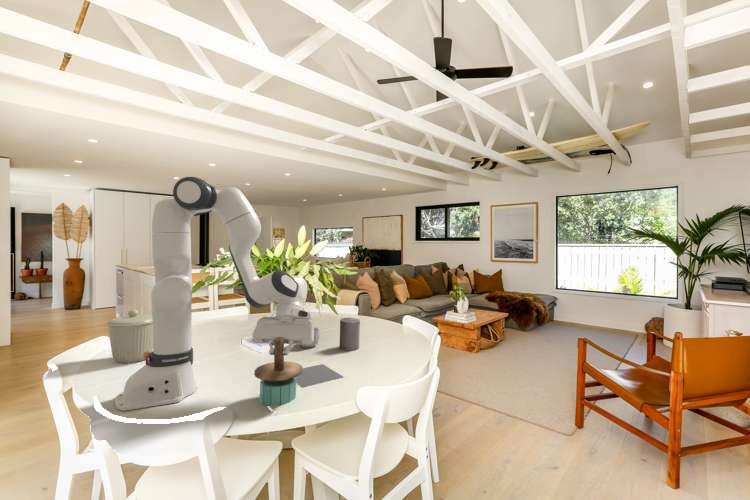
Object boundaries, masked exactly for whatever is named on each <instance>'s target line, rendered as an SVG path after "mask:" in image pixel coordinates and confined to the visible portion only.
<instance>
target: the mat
mask: <svg viewBox="0 0 750 500" xmlns="http://www.w3.org/2000/svg"><path fill="white" fill-rule="evenodd" d="M343 378H344V376H343V375H342V374H340V373H339V372H336V371H335V370H333V369H331V368H330V367H328V366H326V365H325V364H323V363H322V364H317V365H312V366H309V367H308V366H307V367H303V371H302V373H301V374H300V375H298V376H296V385H298V387H299V386H300V388H303V389H304V388H307V387H310V386H311V387H312V386H314V385H315V386H316V385H318V384H322V383H327V382H331V381H335V380H339V379H343Z"/></svg>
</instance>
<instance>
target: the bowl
mask: <svg viewBox="0 0 750 500" xmlns="http://www.w3.org/2000/svg"><path fill="white" fill-rule="evenodd" d="M259 385H260V386H259V402H260V403H261V404H262V405H263V406H268V407H270V406H280V405H284V404H288V403H290V402H292V401H294V400H295V399H296V398H297V383H296V377H294V378H291V379H287V380H281V381H266V380H261V379H260V381H259Z"/></svg>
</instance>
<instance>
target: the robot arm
mask: <svg viewBox="0 0 750 500" xmlns="http://www.w3.org/2000/svg"><path fill="white" fill-rule="evenodd" d="M172 195H173V198H166V199H165V198H164V199H162V200H159V201H158V202H156V204H155V205H154V209H153V213H152V222H151V246H152V247H151V248H152V251H151V252H152V261H153V271H154V282H155V283H154V286H153V287H152V290H151V293H150V294H151V295H150V300H151V303H150V304H151V315H152V319H153V351H152V352H151V353H149V352H148V351H147V352H145V353H144V355H143V357H144V358H145V365H144V366H142V367H141V368H140V369H138V370H137V371H136V372H134V373H133V374H132V375H131V376H129V377H128V378H127V380H126V382H125V385H124V388H123V391H121V392H120V393H119V394H117V396H116V397H115V400H114V406H115V408H116V409H117V410H119V411H124V412H125V411H130V410H138V409H143V408H150V407H156V406H163V405H169V404H174V403H175V404H177V403H179V402H180V401H182V400H183V399H185V398H186V397H188V396H190V395H192V394H193V393H195V391H196V390H197V387H198V386H197V385H196V381H195V377H194V371H193V364H194V363H193V362H194V348H193V345H192V344H193V343H192V335H193V334H192V332H193V331H192V330H193V329H192V328H193V326H192V325H193V324H192V322H193V321H192V317H193V316H192V293H193V269H192V267H193V266H192V264H193V263H192V237H191V235H192V234H191V233H192V232H191V231H192V230H191V223H192V222H191V221H192V218H193V217H198V216H200V215H201V216H202V215H204V214H208V213H211V212H214V213H215V214H216V215H217V216H218V217H219V219H220V220H221V223H222V224H223V226H224V228H225V230H226V233H227V236H228V241H229V245H228V250H229V254H230V257H231V260H232V262H233V265H234V267H235V271H236V272H237V275H238V277H239V280H240V283H241V285H242V289H243V294H244V297H245V300H246V302H247V303H248V304H249V305H250V306H252V307H254V308H256V309H262V308H264V307H266V306H268V305H270V304H272V303H274V302H277V303H278V306H277V309H276V312H277V313H276V316H275V317H272V316H262V317H261V318H259V319H258V320H257V322H256V326H255V328H254V330H253V333H252V335H251V336H252V339H253V341H254V342H255V343H256V344H257V343H261V344H268V345H269V350H268V354H269V356H274V339H275V338H278V337H283V338H284V345H285V344H286V345H287V344H288V345H287V347H286V348H285V347H284V349H283V355H284V356H289V353H290V352H291V350H292V349H294V347H295V345H300V344H312V343H313V341H314V328H315V327H314V324H315V321H314V317H313V315H312V313H311V312H310V311H306V310H304V306H305V304H306V301H307V296H308V283H307V281H306V280H305V278H303V277H301V276H299V275H291V274H289V273H288V272H286V271H284V270H281V269H277V270H274V271H272V272H270V273H267V274H266V275H263V276H262V277H259V276H258V273H257V271H256V269H255V267H254V264H253V261H252V257H251V251H252V248H253V246H254V244H255V243H256V242H257V240H259V238H260V235H261V231H262V225H261V221H260V218H259V217H258V215H257V213H256V211H255V209H254V208H253V206H252V205H251V203H250V201H249V200H248V198H247V197H246V196H245V195H244V193H243V192H242V191H241V189H239V188H237V187H234V186H229V187H224V188H222V189H217V188H216V187H215V186H214V185H212V184H211V183H210V182H208V181H207V180H205V179H202V178H200V177H196V176H185V177H181V178H180V179H179V180H177V182H176V183H175V184H174V186H173V189H172Z"/></svg>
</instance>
